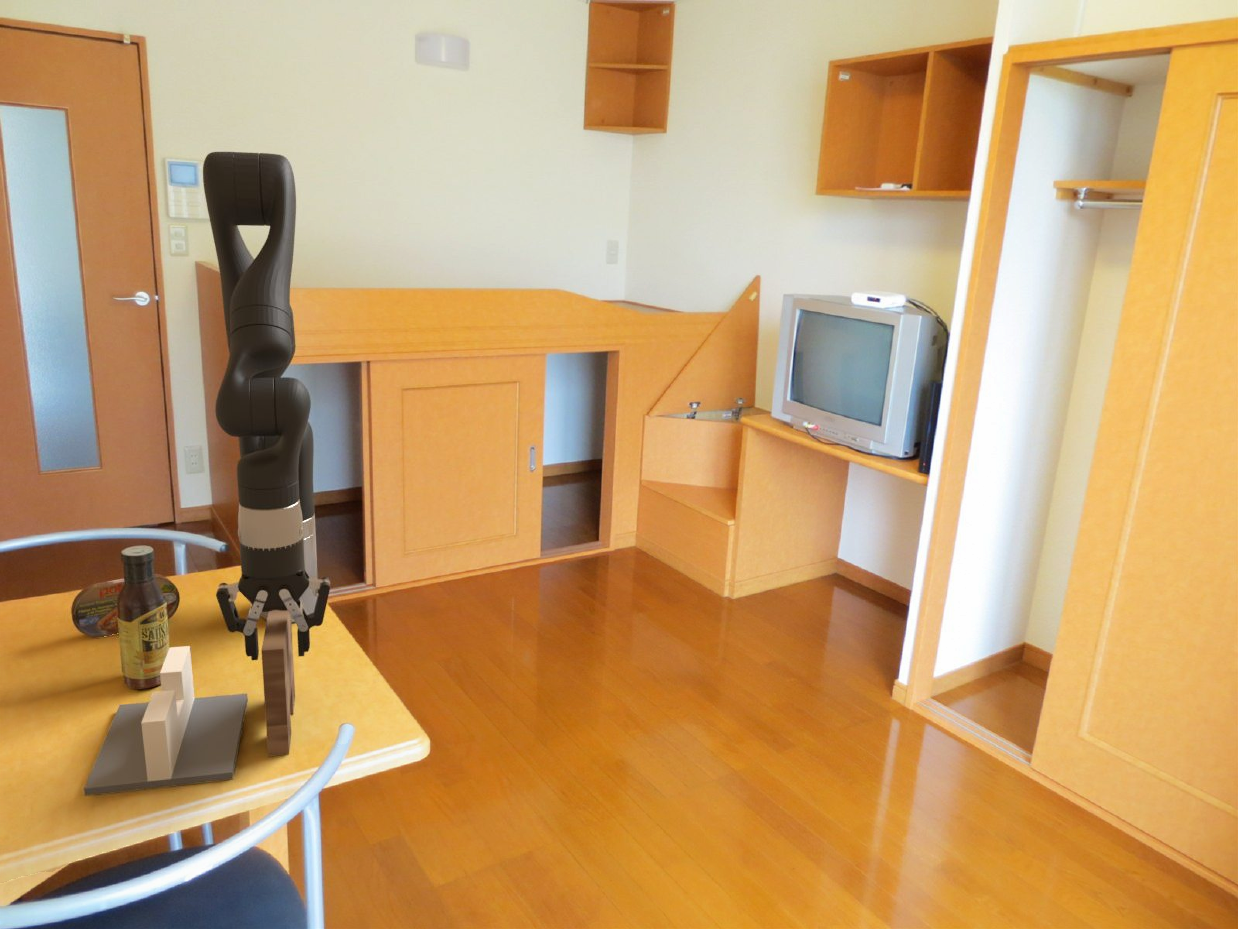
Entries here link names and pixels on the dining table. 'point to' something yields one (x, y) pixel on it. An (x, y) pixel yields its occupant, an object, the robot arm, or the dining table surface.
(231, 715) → the slotted stand
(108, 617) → the tin
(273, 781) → the dining table surface
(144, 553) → the sauce bottle
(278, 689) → the walnut plate
